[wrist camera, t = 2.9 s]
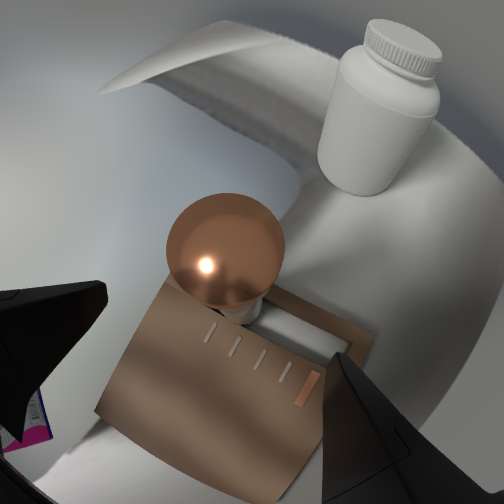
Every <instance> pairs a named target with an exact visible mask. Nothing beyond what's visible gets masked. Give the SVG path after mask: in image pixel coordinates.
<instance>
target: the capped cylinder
mask: <svg viewBox="0 0 504 504" xmlns="http://www.w3.org/2000/svg"><path fill="white" fill-rule="evenodd" d="M284 251H285V243H284V236H283V232H282V229H281V227H280V225H279V222H278V221H277V219H276V218H275V216H274V215H273V214H272V212H271V211H270V210H269V209H268V208H267V207H265V206H264V205H263V204H261V203H260V202H258V201H256V200H254V199H253V198H250V197H247V196H244V195H240V194H233V193H222V194H215V195H211V196H208V197H205V198H202V199H200V200H198V201H196V202H195V203H193V204H191V205H190V206H189V207H188V208H186V209H185V210H184V211H183V212H182V213H181V214H180V215H179V217H178V218H177V220H176V221H175V223H174V224H173V226H172V228H171V231H170V233H169V236H168V240H167V247H166V255H167V262H168V266H169V269H170V272H171V274H172V276H173V278H174V279H175V281H176V282H177V283H178V285H179V286H180V287H181V288H182V289H183V290H184V291H185V292H186V293H187V294H189V295H190V296H191V297H192V298H193V299H195V300H196V301H198V302H199V303H201V304H203V305H205V306H208V307H211V308H215V309H219V310H220V311H221V313H222V314H223V315H224V316H225V317H226V318H227V319H228V320H229V321H231V322H232V323H235V324H239V325H245V324H247V325H249V326H251V324H252V322H253V321H254V320H255V319H256V318H257V317H258V315H259V313H260V311H261V306H262V303H263V302H262V300H263V296H264V295H265V294H266V293H267V292H268V291H269V290H270V289H271V287H272V286H273V284H274V283H275V281H276V279H277V277H278V275H279V272H280V269H281V265H282V262H283V258H284Z"/></svg>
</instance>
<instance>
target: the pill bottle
mask: <svg viewBox="0 0 504 504" xmlns="http://www.w3.org/2000/svg"><path fill="white" fill-rule="evenodd" d="M442 59H443V57H442V53H441V51H440V49H439V48H438V47H437V46H436V45H435V44H434V43H433V42H432V41H431V40H429V39H428V38H427V37H425V36H423V35H422V34H420V33H419V32H417V31H415V30H413V29H411V28H409V27H407V26H404V25H402V24H399V23H396V22H393V21H389V20H383V19H374V20H371V21H370V22H369V23H368V25H367V29H366V33H365V41H364V44H363V45H360V46H356V47H354V48H352V49H349V50H348V51H347V52H346V53H345V54H344V55H343V57H342V58H341V59H340V62H339V65H338V69H337V74H336V78H335V82H334V86H333V90H332V95H331V99H330V103H329V107H328V111H327V115H326V119H325V123H324V126H323V130H322V134H321V138H320V142H319V146H318V163H319V166H320V168H321V170H322V172H323V174H324V175H325V176H326V178H327V179H328V180H329V181H330V182H331V183H332V184H333V185H335V186H336V187H338V188H339V189H341V190H343V191H345V192H347V193H350V194H353V195H357V196H372V195H376V194H378V193H380V192H382V191H383V190H385V189H386V188H387V187H388V186H389V185H390V183H391V182H392V181H393V179H394V178H395V176H396V175H397V173H398V172H399V171H400V169H401V168H402V166H403V165H404V163H405V162H406V160H407V159H408V157H409V156H410V154H411V153H412V151H413V150H414V148H415V147H416V145H417V144H418V142H419V141H420V139H421V138H422V136H423V135H424V133H425V131H426V130H427V128H428V127H429V125H430V124H431V122H432V120H433V119H434V117H435V115H436V114H437V112H438V110H439V105H440V93H439V90H438V87H437V85H436V83H435V81H434V78H435V76H436V72H437V70H438V68H439V66H440V64H441V62H442Z"/></svg>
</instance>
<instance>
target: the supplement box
mask: <svg viewBox="0 0 504 504" xmlns="http://www.w3.org/2000/svg"><path fill="white" fill-rule="evenodd" d="M0 435H1V441H2V448H3V453H6V452H10V451H14V450H17V449H21V448H25V447H28V446H31V445H35V444H38V443H41V442H44V441H48V440H51V439H52V438H53V435H52V432H51V429H50V426H49V422H48V419H47V416H46V412H45V408H44V405H43V400H42V396H41V391H40V387H39V388H38V389H37V391H36V392H35V393H34V394H33V396H32V397H31V399H30V401H29V403H28V408H27V413H26V420H25V427H24V434H23V441H22V444H20V443H19V442H18V441H17V440H16V439H15V438H14V437H12V436H11V435H10V434H9V433H8V432H7V431H6V430H5V429H4V428H2V430H1V431H0Z"/></svg>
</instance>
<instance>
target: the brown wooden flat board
mask: <svg viewBox="0 0 504 504" xmlns="http://www.w3.org/2000/svg"><path fill="white" fill-rule="evenodd" d="M263 300H265V301H267V302H269V303H271V304H273V305H275V306H276V307H278V308H280V309H282V310H284V311H286V312H288V313H290V314H292V315H294V316H296V317H298V318H300V319H302V320H304V321H306V322H308V323H310V324H312V325H314V326H316V327H318V328H320V329H322V330H324V331H326V332H328V333H330V334H332V335H334V336H336V337H338V338H340V339H342V340H345V341H347V342H349V344H348V346H347V348H346V350H345V352H344V353H345V354H347V355H348V356H349V357H350V358H351V359H352V360H353V362H354V363H355V364H356V365H357V366H358V367H359V368H360V367H361V365H362V362H363V360H364V358H365V356H366V354H367V352H368V349H369V347H370V345H371V342H372V340H373V338H374V335H373V334H371V333H369V332H367V331H365V330H363V329H361V328H359V327H357V326H355V325H353V324H351V323H349V322H347V321H345V320H343V319H341V318H339V317H337V316H335V315H333V314H331V313H329V312H327V311H325V310H323V309H321V308H319V307H317V306H315V305H313V304H311V303H309V302H307V301H305V300H303V299H301V298H299V297H298V296H296V295H294V294H292V293H290V292H288V291H286V290H284V289H282V288H280V287H278V286H276V285H274V284H273V286H272V287H271V289H270V290H269V291H268V292H267V293H266V294H265V295H264V296H263ZM325 374H326V368H324V367H322V366H320V365H317V364H315V363H313V362H311V361H309V360H307V359H305V358H303V357H301V356H299V355H297V354H295V353H293V352H290V351H288V350H286V349H284V348H282V347H280V346H278V345H277V344H275V343H273V342H271V341H269V340H267V339H265V338H263V337H261V336H259V335H257V334H255V333H253V332H251V331H250V330H248V329H246V328H244V327H242V326H240V325H238V324H235V323H232V322H231V321H229V320H228V319H227V318H226V317H224V316H222V315H220V314H219V313H217V312H215V311H213V310H212V309H210V308H208V307H206V306H205V305H203V304H201V303H199V302H198V301H196V300H195V299H193V298H192V297H191V296H190V295H189V294H187V293H186V292H185V291H184V290H183V289H182V288H181V287H180V286H179V285H178V283H177V282H176V281H175V279H174V278H173V276H172V274H171V272H170V274H169V275H168V277H167V279H166V280H165V282H164V283H163V285H162V287H161V288H160V290H159V292H158V294H157V295H156V297H155V299H154V300H153V302H152V304H151V305H150V307H149V309H148V311H147V312H146V314H145V316H144V318H143V319H142V321H141V323H140V325H139V326H138V328H137V330H136V332H135V333H134V335H133V337H132V339H131V341H130V343H129V345H128V346H127V348H126V350H125V352H124V354H123V355H122V357H121V359H120V361H119V363H118V365H117V367H116V369H115V370H114V372H113V374H112V376H111V378H110V380H109V382H108V384H107V386H106V388H105V390H104V392H103V394H102V396H101V398H100V400H99V402H98V404H97V406H96V408H95V410H94V412H95V413H97V414H98V415H99V416H100V417H101V418H102V419H104V420H105V421H106V422H107V423H109V424H110V425H111V426H113V427H114V428H115V429H116V430H118V431H119V432H120V433H122V434H123V435H124V436H126V437H127V438H129V439H130V440H131V441H133V442H134V443H136V444H137V445H139V446H140V447H142V448H143V449H145V450H146V451H148V452H149V453H151V454H152V455H154V456H155V457H157V458H159V459H160V460H162V461H164V462H165V463H167V464H169V465H170V466H172V467H174V468H176V469H177V470H179V471H181V472H183V473H185V474H186V475H188V476H190V477H192V478H194V479H196V480H198V481H200V482H202V483H204V484H206V485H208V486H210V487H212V488H215V489H217V490H219V491H221V492H224V493H226V494H228V495H231V496H233V497H235V498H238V499H240V500H243V501H246V502H248V503H251V504H275V503H276V502H277V501H278V499H279V498H280V497H281V496H282V494H283V493H284V492H285V490H286V489H287V488H288V487H289V485H290V484H291V483H292V481H293V480H294V478H295V477H296V476H297V474H298V473H299V472H300V470H301V469H302V467H303V466H304V464H305V463H306V461H307V460H308V458H309V457H310V455H311V454H312V452H313V451H314V449H315V448H316V446H317V445H318V443H319V442H320V440H321V438H322V437H323V411H322V404H323V394H324V384H325Z"/></svg>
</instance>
